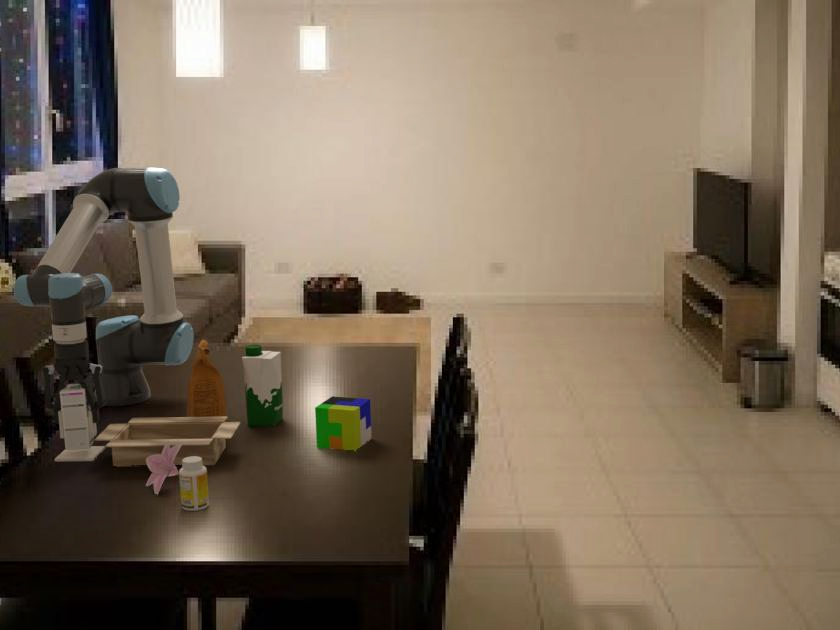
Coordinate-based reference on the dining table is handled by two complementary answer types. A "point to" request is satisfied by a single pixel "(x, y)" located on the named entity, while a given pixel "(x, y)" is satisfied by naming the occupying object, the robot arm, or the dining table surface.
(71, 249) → the robot arm
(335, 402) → the puzzle toy
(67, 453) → the plate
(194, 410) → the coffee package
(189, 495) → the supplement bottle
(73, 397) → the syrup box
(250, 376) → the milk carton
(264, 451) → the dining table surface
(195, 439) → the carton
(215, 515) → the dining table surface
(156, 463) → the lily
